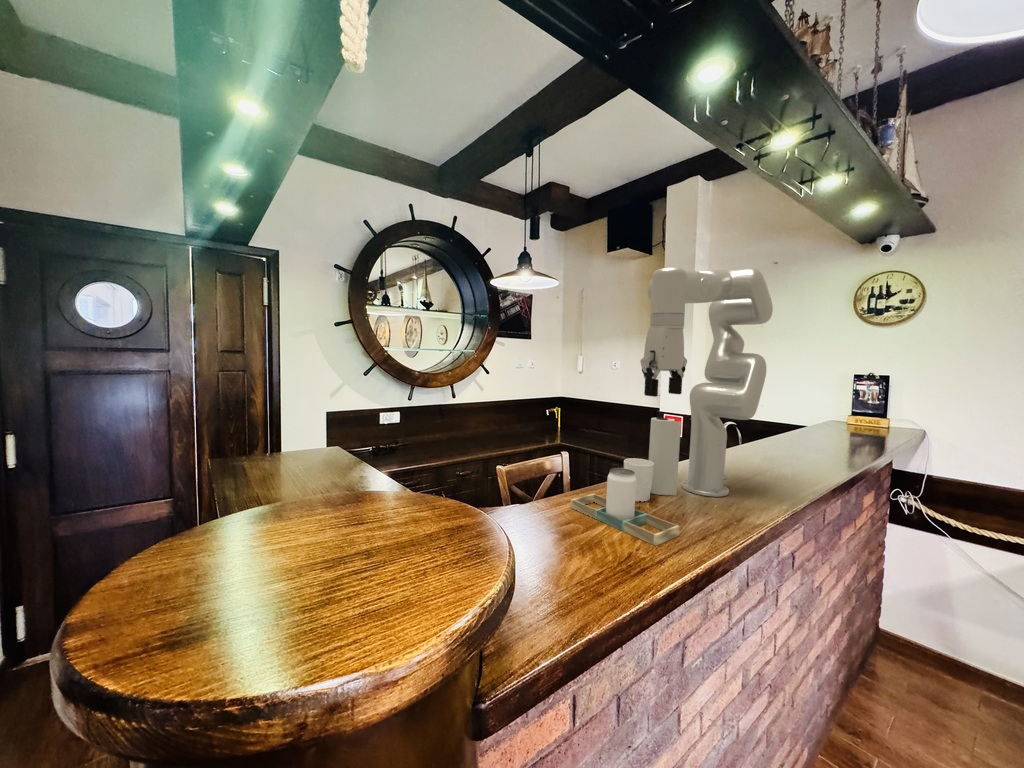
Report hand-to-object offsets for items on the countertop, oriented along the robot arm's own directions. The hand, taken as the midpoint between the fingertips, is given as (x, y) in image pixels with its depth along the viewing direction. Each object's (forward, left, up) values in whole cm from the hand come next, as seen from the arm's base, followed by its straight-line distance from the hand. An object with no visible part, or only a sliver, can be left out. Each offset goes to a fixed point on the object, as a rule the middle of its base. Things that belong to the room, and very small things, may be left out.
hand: (663, 394), depth 100 cm
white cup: (-7, -11, -30) cm, 33 cm away
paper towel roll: (-16, -10, -30) cm, 35 cm away
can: (+10, -3, -30) cm, 32 cm away
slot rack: (+10, -3, -30) cm, 31 cm away
